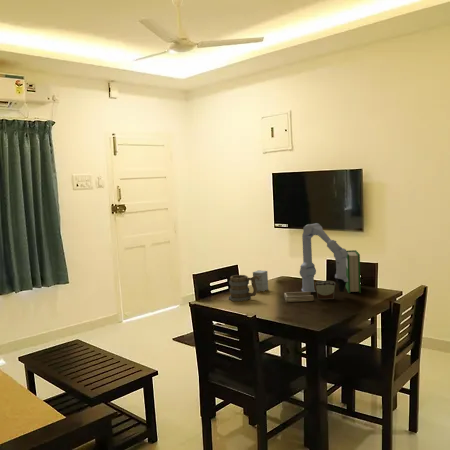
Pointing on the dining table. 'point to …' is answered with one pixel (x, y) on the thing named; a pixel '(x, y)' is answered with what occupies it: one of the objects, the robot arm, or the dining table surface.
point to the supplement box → (261, 280)
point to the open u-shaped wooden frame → (298, 296)
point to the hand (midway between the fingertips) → (341, 291)
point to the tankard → (242, 287)
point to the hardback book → (353, 271)
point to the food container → (325, 289)
